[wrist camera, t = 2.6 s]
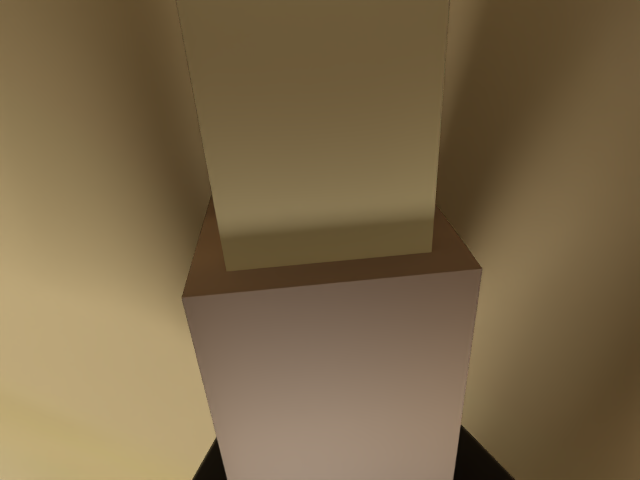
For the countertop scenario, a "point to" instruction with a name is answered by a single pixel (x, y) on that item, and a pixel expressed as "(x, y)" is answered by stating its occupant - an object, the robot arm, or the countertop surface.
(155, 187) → the countertop surface
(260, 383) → the tan long bar
